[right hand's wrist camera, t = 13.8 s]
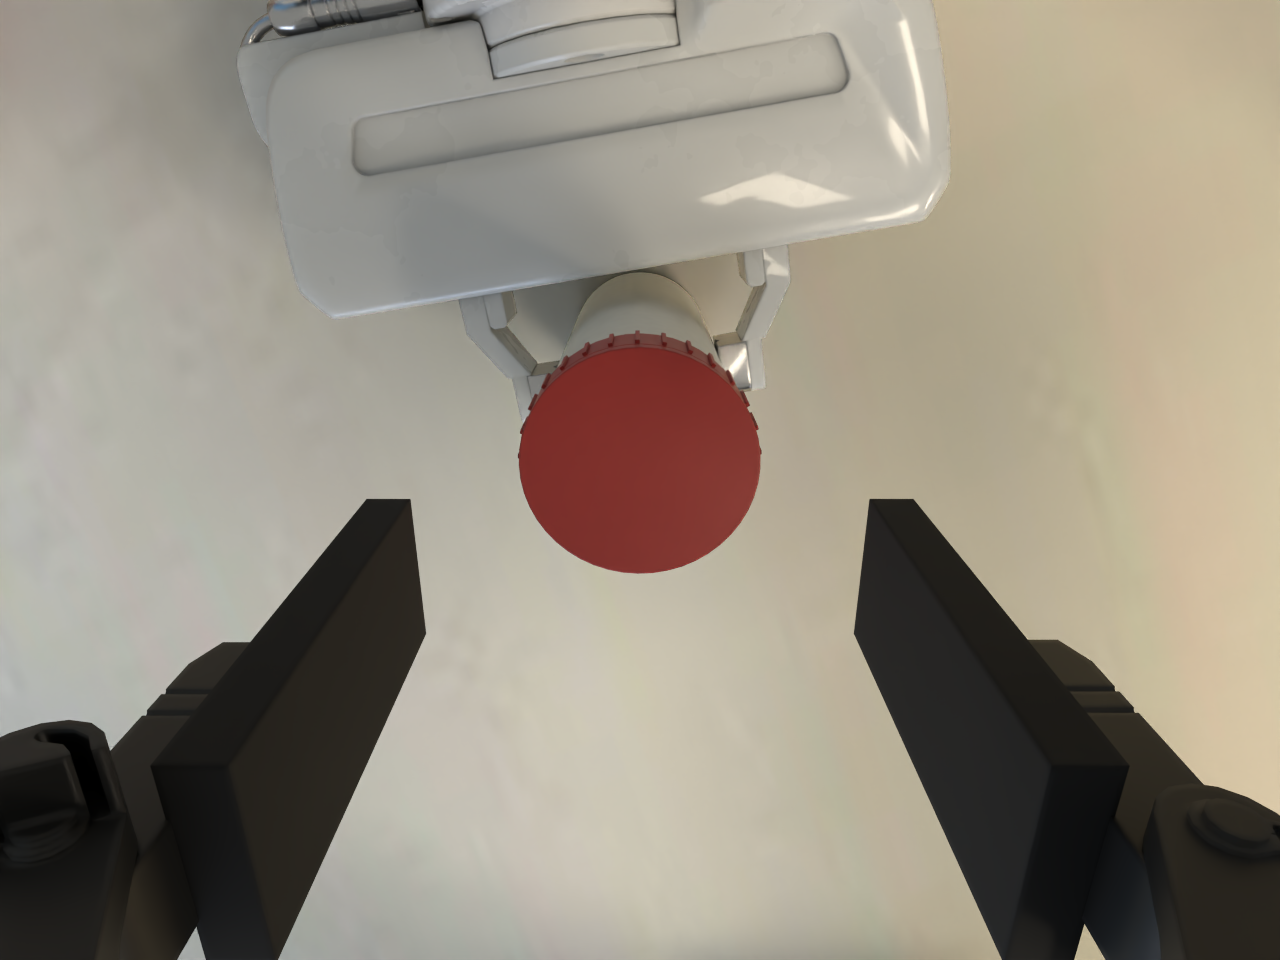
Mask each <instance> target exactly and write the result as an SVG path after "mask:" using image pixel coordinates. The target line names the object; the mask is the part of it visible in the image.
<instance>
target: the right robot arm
mask: <svg viewBox="0 0 1280 960" xmlns="http://www.w3.org/2000/svg"><path fill="white" fill-rule="evenodd" d="M425 635H426V629H425V620H424V612H423V603H422V595H421V586H420V578H419V569H418V560H417V552H416V543H415V535H414V526H413V518H412V509H411V500H410V499H366V501H365V502H364V503H363V504H362V505H361V507H360V508H359V509H358V510H357V512H356V513H355V514H354V515H353V517H352V518H351V519H350V520H349V521H348V523H347V524H346V525H345V526H344V528H343V529H342V530H341V531H340V533H339V534H338V535H337V536H336V537H335V539H334V540H333V541H332V542H331V544H330V545H329V546H328V547H327V549H326V550H325V551H324V552H323V553H322V555H321V556H320V557H319V558H318V560H317V561H316V562H315V563H314V565H313V566H312V567H311V568H310V569H309V571H308V572H307V573H306V574H305V576H304V577H303V578H302V579H301V581H300V582H299V583H298V584H297V585H296V587H295V588H294V589H293V590H292V592H291V593H290V594H289V595H288V597H287V598H286V599H285V600H284V601H283V603H282V604H281V605H280V606H279V608H278V609H277V610H276V611H275V613H274V614H273V615H272V616H271V617H270V619H269V620H268V621H267V622H266V624H265V625H264V626H263V627H262V629H261V630H260V631H259V632H258V633H257V635H256V636H255V637H254V638H253V640H252V641H251V642H223V643H221V644H220V645H218V646H216V647H215V648H213V649H212V650H210V651H209V652H207V653H205V654H204V655H202V656H201V657H199V658H197V659H196V660H194V661H193V662H191V663H190V664H188V665H187V666H186V668H185V669H184V670H183V671H182V672H181V673H180V674H179V675H178V676H177V678H176V679H175V680H174V681H173V682H172V683H171V684H170V685H169V686H168V688H167V689H166V694H161V695H160V696H159V698H158V699H157V700H156V701H155V702H154V703H153V704H152V705H151V706H150V708H149V709H148V710H147V715H146V716H141V718H140V719H139V720H138V721H137V722H136V723H135V724H134V725H133V726H132V728H131V729H130V730H129V731H128V732H127V733H126V734H125V735H124V736H123V738H122V739H121V740H120V741H119V742H118V743H117V744H116V745H115V746H114V748H113V749H112V750H111V751H110V749H109V746H108V743H107V740H106V736H105V733H104V732H103V731H102V730H101V729H99V728H98V727H96V726H95V725H94V724H92V723H88V722H81V721H73V720H65V721H57V722H49V723H41V724H38V725H34V726H31V727H28V728H24V729H21V730H18V731H15V732H11V733H8V734H6V735H4V736H2V737H0V960H177V959H178V957H179V955H180V954H181V952H182V950H183V948H184V947H185V945H186V943H187V942H188V940H189V938H190V936H191V935H192V933H193V931H194V929H195V928H196V927H197V930H198V934H199V937H200V941H201V944H202V947H203V951H204V954H205V958H206V960H278V958H279V956H280V954H281V952H282V950H283V947H284V945H285V943H286V941H287V939H288V936H289V934H290V932H291V930H292V928H293V925H294V923H295V921H296V919H297V917H298V914H299V912H300V910H301V908H302V906H303V903H304V901H305V899H306V897H307V895H308V892H309V890H310V888H311V886H312V884H313V881H314V879H315V877H316V875H317V873H318V870H319V868H320V866H321V864H322V862H323V859H324V857H325V855H326V853H327V851H328V848H329V846H330V844H331V842H332V840H333V837H334V835H335V833H336V831H337V829H338V826H339V824H340V822H341V820H342V818H343V815H344V813H345V811H346V809H347V807H348V804H349V802H350V800H351V798H352V796H353V793H354V791H355V789H356V787H357V785H358V782H359V780H360V778H361V776H362V774H363V771H364V769H365V767H366V765H367V763H368V760H369V758H370V756H371V754H372V752H373V749H374V747H375V745H376V743H377V741H378V738H379V736H380V734H381V732H382V729H383V727H384V725H385V723H386V721H387V718H388V716H389V714H390V712H391V710H392V707H393V705H394V703H395V701H396V699H397V696H398V694H399V692H400V690H401V688H402V685H403V683H404V681H405V679H406V677H407V674H408V672H409V670H410V668H411V666H412V663H413V661H414V659H415V657H416V655H417V652H418V650H419V648H420V646H421V644H422V641H423V639H424V637H425ZM854 635H855V637H856V639H857V641H858V644H859V646H860V648H861V650H862V652H863V655H864V657H865V659H866V661H867V663H868V666H869V668H870V670H871V672H872V674H873V677H874V679H875V681H876V683H877V685H878V688H879V690H880V692H881V694H882V696H883V699H884V701H885V703H886V705H887V707H888V710H889V712H890V714H891V716H892V718H893V721H894V723H895V725H896V727H897V729H898V732H899V734H900V736H901V738H902V741H903V743H904V745H905V747H906V749H907V752H908V754H909V756H910V758H911V760H912V763H913V765H914V767H915V769H916V771H917V774H918V776H919V778H920V780H921V782H922V785H923V787H924V789H925V791H926V793H927V796H928V798H929V800H930V802H931V804H932V807H933V809H934V811H935V813H936V815H937V818H938V820H939V822H940V824H941V826H942V829H943V831H944V833H945V835H946V837H947V840H948V842H949V844H950V846H951V848H952V851H953V853H954V855H955V857H956V859H957V862H958V864H959V866H960V868H961V870H962V873H963V875H964V877H965V879H966V881H967V884H968V886H969V888H970V890H971V892H972V895H973V897H974V899H975V901H976V903H977V906H978V908H979V910H980V912H981V914H982V917H983V919H984V921H985V923H986V925H987V928H988V930H989V932H990V934H991V936H992V939H993V941H994V943H995V945H996V947H997V950H998V952H999V954H1000V956H1001V958H1002V960H1074V958H1075V954H1076V951H1077V947H1078V944H1079V941H1080V937H1081V934H1082V930H1083V927H1084V924H1085V925H1086V927H1087V929H1088V930H1089V932H1090V934H1091V936H1092V937H1093V939H1094V941H1095V942H1096V944H1097V946H1098V948H1099V949H1100V951H1101V953H1102V954H1103V956H1104V958H1105V960H1280V815H1278V814H1277V813H1275V812H1274V811H1272V810H1270V809H1268V808H1266V807H1264V806H1263V805H1261V804H1259V803H1257V802H1255V801H1253V800H1252V799H1250V798H1248V797H1245V796H1242V795H1240V794H1237V793H1234V792H1231V791H1228V790H1225V789H1222V788H1219V787H1215V786H1207V785H1203V783H1202V782H1201V781H1200V780H1199V779H1198V778H1197V777H1196V776H1195V775H1194V773H1193V772H1192V771H1191V770H1190V769H1189V768H1188V767H1187V766H1186V765H1185V764H1184V762H1183V761H1182V760H1181V759H1180V758H1179V757H1178V756H1177V755H1176V754H1175V753H1174V751H1173V750H1172V749H1171V748H1170V747H1169V746H1168V745H1167V744H1166V743H1165V741H1164V740H1163V739H1162V738H1161V737H1160V736H1159V735H1158V734H1157V733H1156V732H1155V730H1154V729H1153V728H1152V727H1151V726H1150V725H1149V724H1148V723H1147V722H1146V721H1145V719H1144V718H1143V717H1142V716H1141V715H1140V714H1139V713H1134V707H1133V706H1132V705H1131V704H1130V703H1129V702H1128V701H1127V700H1126V698H1125V697H1124V696H1123V695H1122V694H1121V693H1120V692H1116V691H1115V686H1114V685H1113V684H1112V683H1111V682H1110V681H1109V680H1108V679H1107V677H1106V676H1105V675H1104V674H1103V673H1102V672H1101V671H1100V670H1099V669H1098V668H1097V666H1096V665H1095V664H1094V663H1093V662H1092V661H1090V660H1089V659H1087V658H1086V657H1084V656H1083V655H1081V654H1079V653H1078V652H1076V651H1075V650H1073V649H1071V648H1070V647H1068V646H1067V645H1065V644H1063V643H1062V642H1060V641H1059V640H1027V638H1026V637H1025V636H1024V635H1023V633H1022V632H1021V631H1020V630H1019V629H1018V627H1017V626H1016V625H1015V624H1014V622H1013V621H1012V620H1011V619H1010V617H1009V616H1008V615H1007V614H1006V613H1005V611H1004V610H1003V609H1002V608H1001V606H1000V605H999V604H998V603H997V601H996V600H995V599H994V598H993V597H992V595H991V594H990V593H989V592H988V590H987V589H986V588H985V587H984V585H983V584H982V583H981V582H980V581H979V579H978V578H977V577H976V576H975V574H974V573H973V572H972V571H971V569H970V568H969V567H968V566H967V565H966V563H965V562H964V561H963V560H962V558H961V557H960V556H959V555H958V553H957V552H956V551H955V550H954V549H953V547H952V546H951V545H950V544H949V542H948V541H947V540H946V539H945V537H944V536H943V535H942V534H941V533H940V531H939V530H938V529H937V528H936V526H935V525H934V524H933V523H932V521H931V520H930V519H929V518H928V517H927V515H926V514H925V513H924V512H923V510H922V509H921V508H920V507H919V505H918V504H917V503H916V502H915V501H914V499H870V500H869V509H868V518H867V526H866V535H865V543H864V552H863V560H862V569H861V578H860V586H859V595H858V603H857V612H856V620H855V629H854Z"/></svg>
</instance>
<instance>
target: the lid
mask: <svg viewBox="0 0 1280 960" xmlns="http://www.w3.org/2000/svg"><path fill="white" fill-rule="evenodd" d="M748 406H750V404H749V402H748V400H747V398H746V396H745V393H744V391H743V390H741V391H739V389H738V388H737V386H736V383H735V381H734V379H733V376H732V374H731V372H730V371H729V370H727V371H725V370H724V369H723V368H722V367H721V366H720V365H719V364H718V363H717V362H716V361H715V360H714V357H713V355H712V354H711V353H708V355H707V354H705V353H704V352H702V351H701V350H699V349H697V348H695V347H693V346H692V345H691V342H690V341H688V340H686V343H685V342H682V341H680V340H677V339H674V338H670V337H666V333H661V335H656V334H644V333H640V330H636V331H635V334H624V335H619V336H614V334H613V333H612V334H609V338H606V339H603V340H600V341H597V342H594V343H592V344H590V343H589V342H587V343H585V345H584V348H582V349H581V350H579V351H577V352H576V353H574V354H573V355H571V356H570V357H568V356H567V355H566V356H565V357H564V358H563V360H562V363H561V364H560V365H559V366H558V367H557V369H556V370H555V371H554V372H553V373H552V374H550V373H548V374H547V375H546V377H545V379H544V382H543V384H542V386H541V390H540V392H539V394H534V397H533V399H532V401H531V403H530V405H529V407H528V410H530V414H529V416H527V417H526V419H525V422H524V424H523V426H522V428H521V431H520V434H522V437H521V443H520V449H519V454H518V458H519V470H520V479H521V483H522V487H523V491H524V494H525V497H526V499H527V502H528V504H529V506H530V508H531V510H532V512H533V514H534V515H535V517H536V519H537V520H538V522H539V523H540V524H541V526H542V527H543V528H544V530H545V531H546V532H547V533H548V534H549V535H550V536H551V537H552V538H553V539H554V540H555V541H556V542H557V543H558V544H559V545H561V546H562V547H563V548H564V549H566V550H567V551H568V552H570V553H572V554H573V555H575V556H577V557H578V558H580V559H582V560H584V561H586V562H588V563H591V564H593V565H595V566H598V567H602V568H605V569H608V570H613V571H618V572H624V573H637V574H638V573H655V572H661V571H667V570H671V569H675V568H678V567H682V566H684V565H686V564H689V563H691V562H694V561H696V560H698V559H699V558H701V557H703V556H705V555H707V554H708V553H710V552H711V551H712V550H714V549H715V548H716V547H718V546H719V545H720V544H721V543H722V542H724V541H725V540H726V539H727V538H728V537H729V536H730V535H731V534H732V533H733V531H734V530H735V529H736V528H737V526H738V525H739V524H740V523H741V521H742V519H743V518H744V516H745V515H746V513H747V511H748V509H749V507H750V505H751V503H752V500H753V498H754V495H755V492H756V488H757V485H758V480H759V474H760V454H761V448H760V446H759V439H758V435H757V432H756V430H758V425H757V423H756V421H755V419H754V416H753V414H752V412H751V413H749V411H748V409H747V407H748Z"/></svg>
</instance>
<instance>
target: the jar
mask: <svg viewBox="0 0 1280 960" xmlns="http://www.w3.org/2000/svg"><path fill="white" fill-rule="evenodd" d="M636 330H640V333H644V334H656V335H661V333H666V337H670V338H674V339H677V340H680V341H682V342H685V343H686V340H688V341H690V342H691V345H692V346H693V347H695V348H697V349H699V350H701V351H702V352H704V353H705V354H707V355H708V353H711V354H712V355H713V357H714V360H715V361H716V362H717V363H718V364H719V365H720V366H721V367H722V364H721V362H720V359H719V357H718V355H717V352H716V350H715V347H714V345H713V342H712V340H711V337H710V335H709V332H708V330H707V327H706V325H705V322H704V320H703V317H702V315H701V313H700V310H699V308H698V306H697V305H696V303H695V301H694V300H693V298H692V297H691V296H690V295H689V293H688V292H687V291H685V290H684V289H683V288H682V287H681V286H680V285H678V284H677V283H675V282H674V281H672V280H670V279H668V278H666V277H663V276H661V275H657V274H653V273H646V272H634V273H628V274H623V275H620V276H617V277H615V278H613V279H610V280H608V281H607V282H605V283H604V284H602V285H601V286H600V287H598V288H597V289H596V290H595V291H594V292H593V293H592V294H591V295H590V297H589V298H588V299H587V301H586V302H585V304H584V305H583V307H582V310H581V312H580V314H579V316H578V319H577V321H576V323H575V326H574V328H573V331H572V333H571V335H570V338H569V340H568V343H567V345H566V347H565V350H564V352H563V355H562V357H561V360H560V362H559V364H558V366H559V365H560V364H561V363H562V360H563V358H564V357H565V356H566V355H567V356H568V357H570V356H571V355H573V354H574V353H576V352H577V351H579V350H581V349H582V348H584V345H585V343H587V342H589V343H590V344H592V343H594V342H597V341H600V340H603V339H606V338H609V334H612V333H613V334H614V336H619V335H624V334H635V331H636ZM722 368H723V367H722Z"/></svg>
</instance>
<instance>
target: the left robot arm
mask: <svg viewBox="0 0 1280 960" xmlns="http://www.w3.org/2000/svg"><path fill="white" fill-rule="evenodd" d="M267 12H268V13H267V14H264V15H263V16H261V17H260V18H258V19H257V20H256V21H255V22H254V23H253V24H252V25H251V26H250V27H249V29H248V30H247V32H246V33H245V35H244V38H243V40H242V42H241V46H240V49H239V51H238V53H237V70H238V76H239V79H240V83H241V86H242V89H243V92H244V96H245V99H246V102H247V105H248V108H249V112H250V115H251V118H252V121H253V124H254V126H255V128H256V130H257V132H258V134H259V135H260V137H261V139H262V140H263V142H264V143H265V144H266V146H267V147H268V148H269V155H270V163H271V170H272V176H273V183H274V189H275V195H276V201H277V206H278V211H279V216H280V222H281V226H282V231H283V235H284V240H285V244H286V248H287V252H288V256H289V260H290V264H291V268H292V272H293V275H294V279H295V282H296V285H297V287H298V289H299V291H300V293H301V294H302V295H303V296H304V297H305V298H306V299H307V300H308V301H309V302H311V303H312V304H313V305H314V306H315V307H317V308H318V309H319V310H320V311H322V312H323V313H324V314H325V315H327V316H328V317H330V318H332V319H344V318H351V317H357V316H363V315H369V314H375V313H381V312H387V311H392V310H398V309H404V308H410V307H416V306H422V305H428V304H434V303H440V302H446V301H452V300H459V304H460V308H461V312H462V316H463V320H464V324H465V328H466V332H467V335H468V336H469V337H470V338H471V339H472V340H473V341H474V343H475V344H476V345H477V346H478V347H479V348H480V349H481V350H482V351H483V352H484V353H485V354H486V355H487V357H488V358H489V359H490V360H491V361H492V362H493V363H494V364H495V365H496V366H497V367H498V368H499V369H500V371H501V372H502V373H503V374H504V375H505V376H506V377H507V378H508V379H512V380H513V384H514V389H515V393H516V398H517V402H518V406H519V411H520V415H521V419H522V422H523V424H524V422H525V419H526V417H527V416H529V414H530V410H528V407H529V405H530V403H531V401H532V399H533V397H534V394H539V392H540V390H541V386H542V384H543V382H544V379H545V377H546V375H547V374H548V373H550V374H552V373H553V372H554V371H555V370H556V369H557V367H558V364H559V362H560V361H553V362H546V363H539V364H537V362H536V360H535V359H534V358H533V357H532V356H531V354H530V353H529V352H528V351H527V350H526V348H525V347H524V346H523V345H522V344H521V342H520V341H519V340H518V339H517V338H516V337H515V335H514V334H513V333H512V332H511V331H510V329H509V328H508V327H507V325H508V323H509V322H510V321H511V320H512V318H513V317H514V316H515V315H516V313H517V310H516V305H515V301H514V296H513V291H512V290H518V289H524V288H530V287H536V286H542V285H548V284H554V283H560V282H566V281H572V280H578V279H584V278H590V277H596V276H602V275H608V274H614V273H620V272H626V271H632V270H638V269H644V268H650V267H656V266H662V265H668V264H674V263H680V262H686V261H691V260H697V259H703V258H709V257H715V256H721V255H727V254H733V253H737V259H738V267H739V274H740V277H741V278H742V279H743V280H744V281H745V282H746V284H747V285H749V286H750V287H753V289H752V292H751V294H750V296H749V299H748V301H747V304H746V306H745V309H744V311H743V314H742V316H741V319H740V321H739V323H738V326H737V328H736V331H737V332H732V333H726V334H721V335H715V336H713V339H714V347H715V350H716V352H717V355H718V357H719V359H720V362H721V364H722V367H723V369H724V370H725V371H727V370H729V371H730V372H731V374H732V376H733V379H734V381H735V383H736V386H737V388H738V389H739V391H741V390H743V391H744V392H747V391H753V390H760V389H765V388H766V376H765V367H764V357H763V348H762V338H765V337H766V335H767V333H768V331H769V329H770V326H771V324H772V322H773V320H774V318H775V315H776V313H777V311H778V309H779V307H780V305H781V302H782V300H783V298H784V296H785V294H786V291H787V289H788V287H789V285H790V283H791V277H790V266H789V254H788V244H793V243H799V242H805V241H811V240H817V239H823V238H829V237H835V236H841V235H847V234H853V233H859V232H865V231H871V230H877V229H883V228H889V227H895V226H901V225H906V224H912V223H918V222H921V221H923V220H925V219H926V218H927V217H928V216H929V215H930V213H931V212H932V210H933V209H934V207H935V206H936V204H937V203H938V201H939V200H940V198H941V196H942V195H943V193H944V191H945V190H946V188H947V186H948V184H949V181H950V175H951V137H950V121H949V107H948V97H947V87H946V78H945V70H944V62H943V55H942V49H941V42H940V36H939V30H938V24H937V19H936V14H935V9H934V5H933V1H932V0H269V1H268V3H267ZM356 23H357V24H356ZM347 24H348V25H347ZM351 24H352V25H351ZM338 25H339V26H342V25H347V26H342V27H337V26H338ZM333 27H336V28H333ZM327 28H331V29H327ZM272 29H274V30H275V31H276V32H277V33H278V34H279V35H280V36H283V37H284V38H279V39H273V40H268V41H263V42H260V40H261V39H262V38H263V37H264V36H265V35H266V34H267V33H268V32H269V31H271V30H272Z"/></svg>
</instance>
